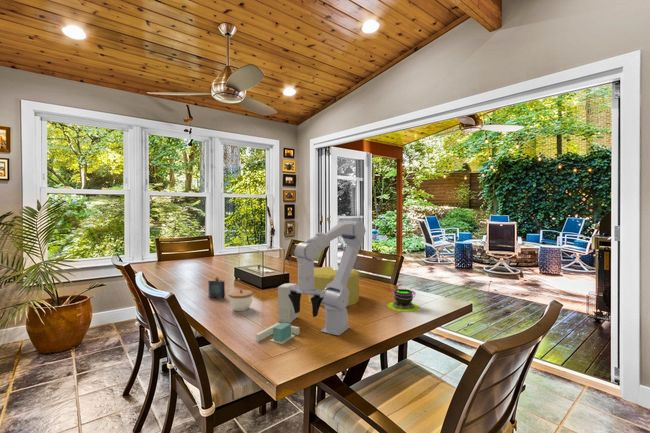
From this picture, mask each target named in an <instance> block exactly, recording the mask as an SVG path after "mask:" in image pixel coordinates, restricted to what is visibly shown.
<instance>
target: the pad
mask: <svg viewBox="0 0 650 433" xmlns="http://www.w3.org/2000/svg"><path fill="white" fill-rule="evenodd" d="M294 337H296V335H295V334H291V336H290V337H289V338H287V339H285V340H284V341H282V342H280V341H276V340H273V338H271V339H269V342H272V343H276V344H281V345H283V344H284V343H286V342H288V341H289V340H292V339H293V338H294Z"/></svg>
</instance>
